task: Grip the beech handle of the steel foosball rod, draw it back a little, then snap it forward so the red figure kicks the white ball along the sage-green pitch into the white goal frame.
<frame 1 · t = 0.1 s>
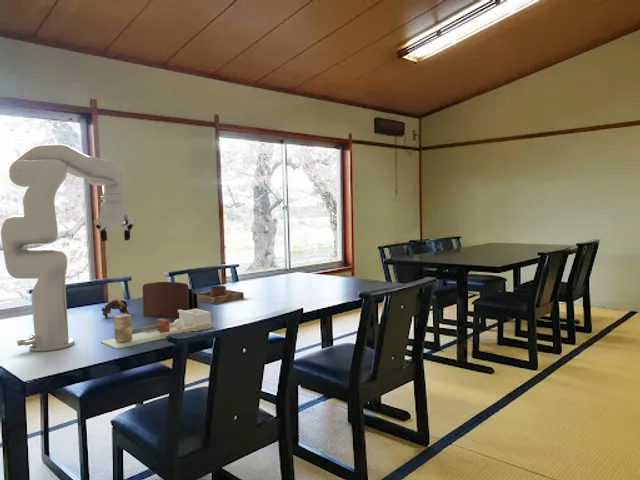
hand: (115, 240, 199), 31 cm above the table, tool pointing down, fingers open, 9 cm apart
ball: (179, 323, 172), point 2 cm above the table, touching pitch
pitch: (159, 334, 167), on the table
tray frame: (218, 299, 231), on the table
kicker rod: (142, 323, 162), point 5 cm above the table, slide at 0.0 cm
letter holder: (171, 314, 202), on the table
brown jagged arch: (117, 317, 199), on the table
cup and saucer: (218, 300, 231), resting in tray frame
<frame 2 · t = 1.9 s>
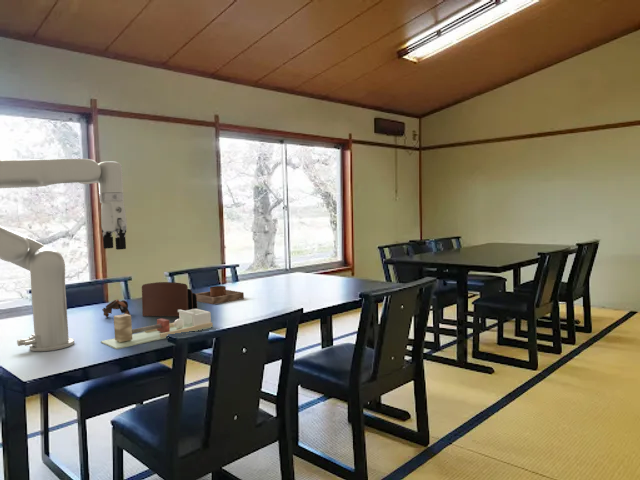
hand: (114, 248, 166), 30 cm above the table, tool pointing down, fingers open, 9 cm apart
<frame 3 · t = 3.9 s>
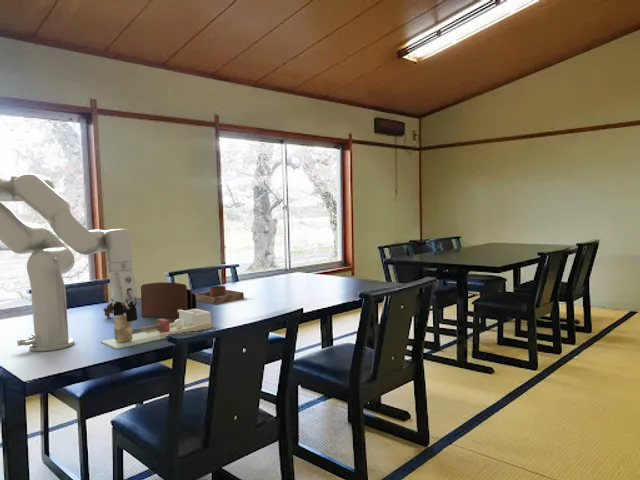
hand: (125, 319, 158), 8 cm above the table, tool pointing down, fingers open, 9 cm apart
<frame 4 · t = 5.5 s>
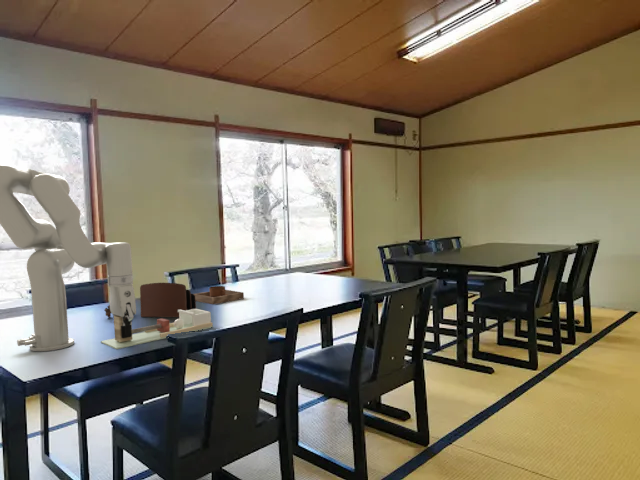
hand: (123, 335, 158), 2 cm above the table, tool pointing down, fingers closed on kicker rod, 4 cm apart
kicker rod: (142, 323, 162), point 5 cm above the table, slide at 0.0 cm, touching gripper
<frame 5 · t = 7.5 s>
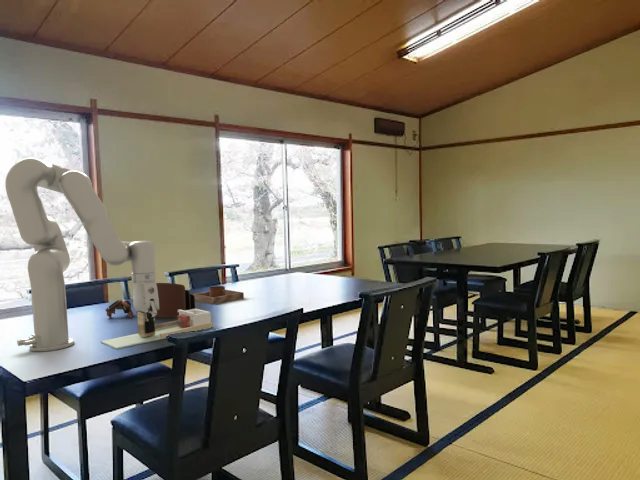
hand: (146, 330, 164), 2 cm above the table, tool pointing down, fingers closed on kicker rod, 4 cm apart
ball: (195, 320, 177), point 2 cm above the table, tilted 161°, touching pitch
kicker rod: (164, 319, 168), point 5 cm above the table, slide at 7.9 cm, touching gripper
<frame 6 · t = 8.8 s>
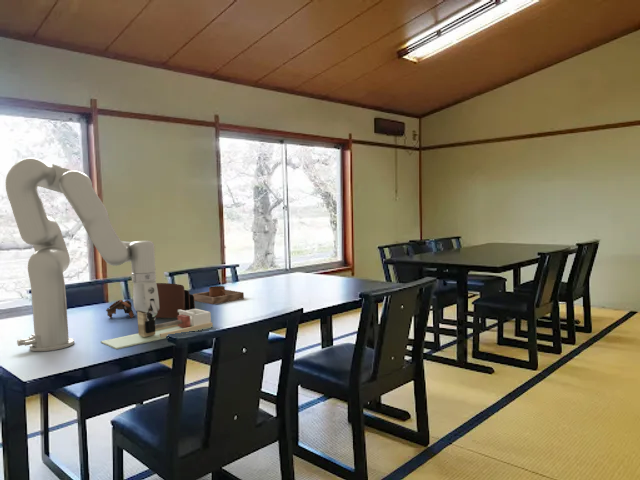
hand: (146, 330, 164), 2 cm above the table, tool pointing down, fingers open, 4 cm apart
ball: (191, 321, 176), point 2 cm above the table, tilted 137°, touching pitch
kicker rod: (164, 319, 168), point 5 cm above the table, slide at 8.0 cm
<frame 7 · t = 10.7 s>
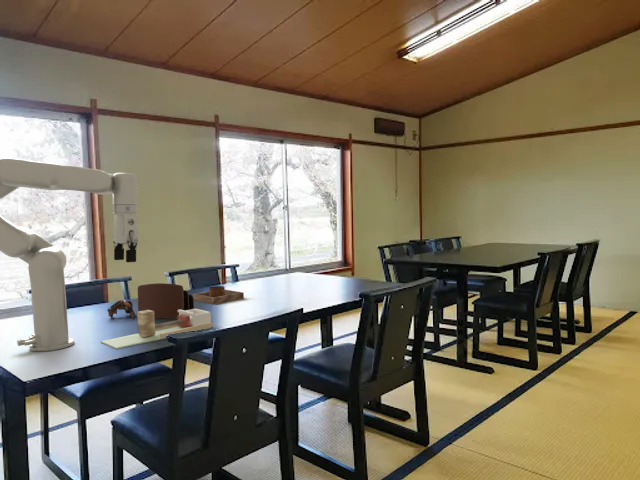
hand: (124, 260, 163), 26 cm above the table, tool pointing down, fingers open, 9 cm apart
ball: (192, 321, 176), point 2 cm above the table, tilted 151°, touching pitch
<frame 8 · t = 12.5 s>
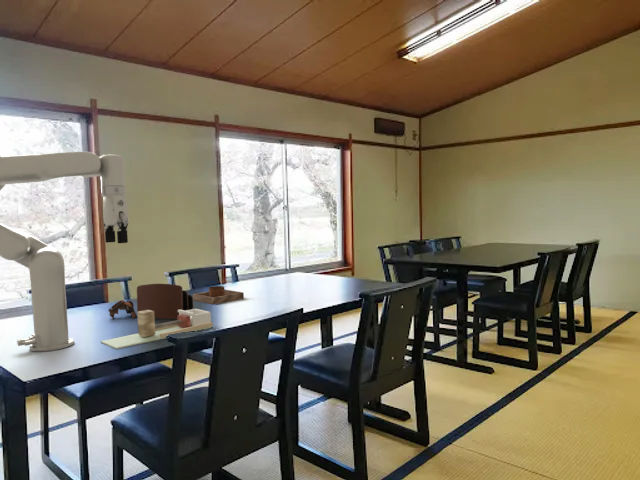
hand: (116, 242, 164), 32 cm above the table, tool pointing down, fingers open, 9 cm apart
ball: (193, 321, 176), point 2 cm above the table, tilted 164°, touching pitch
at the end: ball inside the target area (0.5 cm from its centre), point 2.3 cm above the table; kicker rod slide at 8.0 cm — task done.
